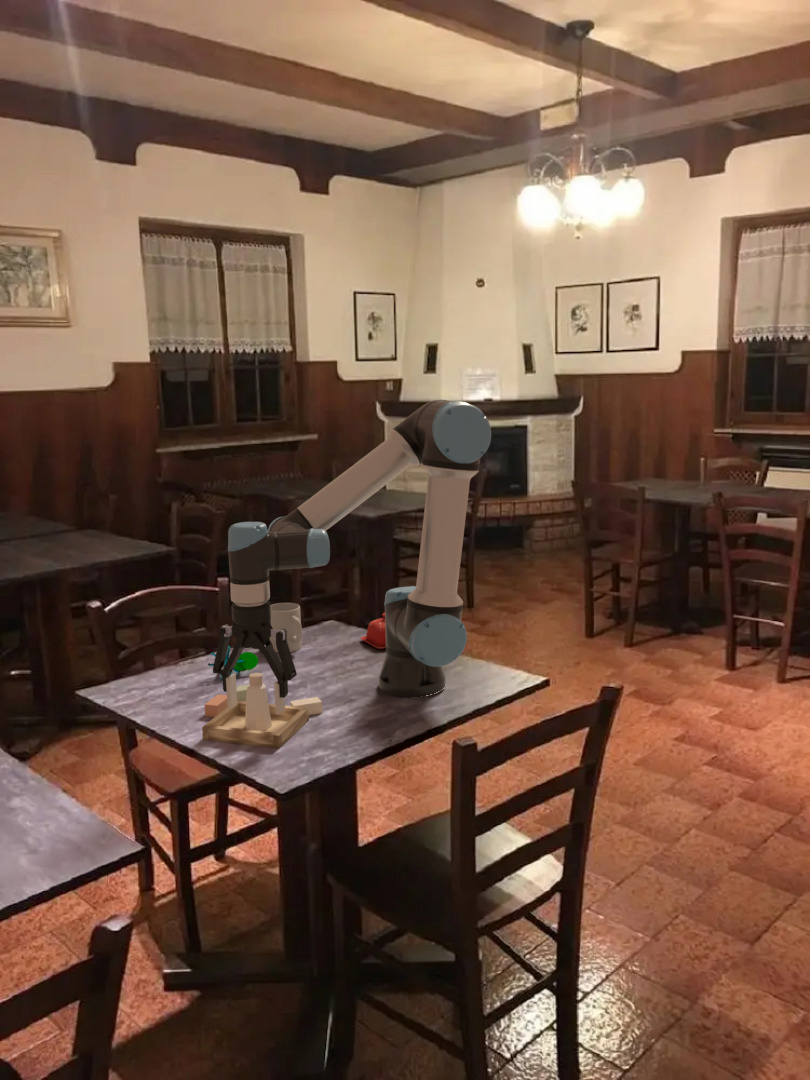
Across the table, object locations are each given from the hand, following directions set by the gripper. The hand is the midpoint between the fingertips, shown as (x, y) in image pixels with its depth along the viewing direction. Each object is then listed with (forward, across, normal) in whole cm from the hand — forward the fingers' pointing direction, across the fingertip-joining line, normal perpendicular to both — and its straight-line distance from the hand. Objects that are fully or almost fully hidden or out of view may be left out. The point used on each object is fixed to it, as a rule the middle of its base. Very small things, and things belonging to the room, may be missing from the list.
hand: (256, 709), depth 181 cm
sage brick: (+5, +10, -16) cm, 19 cm away
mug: (+5, +16, -50) cm, 53 cm away
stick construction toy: (+6, +20, -27) cm, 34 cm away
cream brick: (+5, -6, -11) cm, 13 cm away
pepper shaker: (+4, 0, 0) cm, 4 cm away
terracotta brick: (+5, +12, -7) cm, 15 cm away
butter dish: (+5, -8, -61) cm, 62 cm away
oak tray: (+5, 0, 0) cm, 5 cm away
